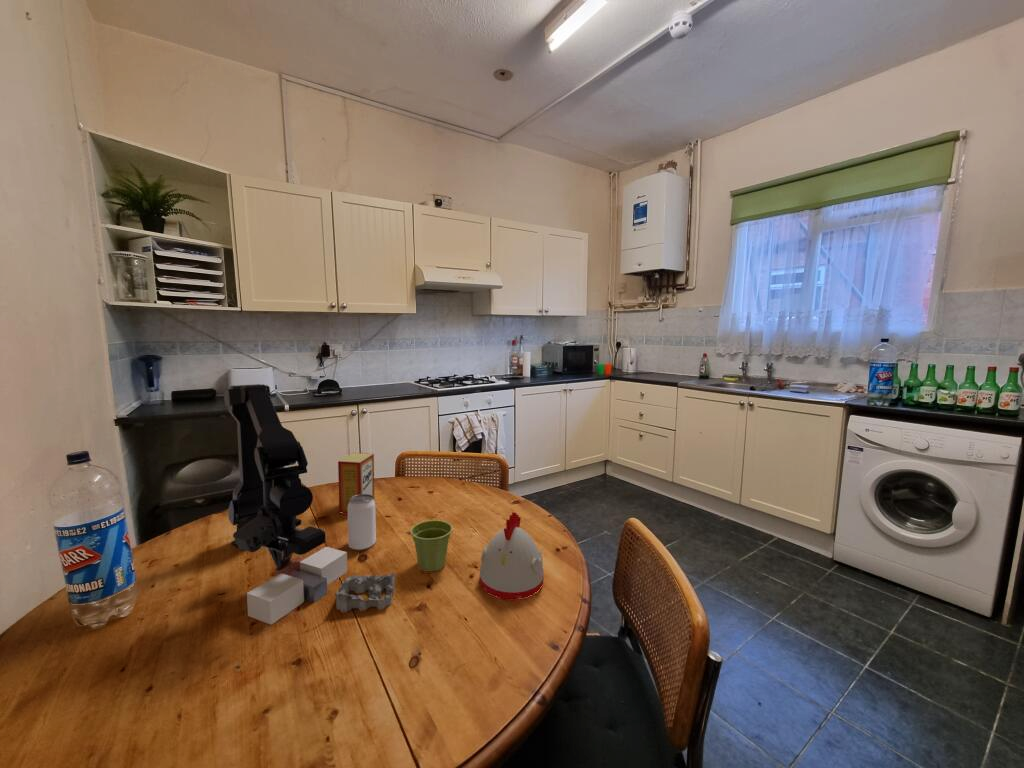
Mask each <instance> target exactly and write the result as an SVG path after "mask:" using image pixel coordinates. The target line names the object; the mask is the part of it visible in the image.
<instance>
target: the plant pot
mask: <svg viewBox="0 0 1024 768" xmlns="http://www.w3.org/2000/svg"><path fill="white" fill-rule="evenodd" d="M452 532H453V525H452V524H451V523H449V522H447V521H444V520H438V519H431V520H430V519H429V520H424V521H421V522H418V523H415V525H413V526H412V527H411V528H410V535H411V537H412V541H414V546H415V553H416V560H417V565H418V566H417V567H418V568H419V569H420V570H421V571H423V572H428V571H431V572H436V571H439V570H441V569H443V568H444V567H445V564H446V560H447V553H448V545H449V539H450V537H451V533H452Z"/></svg>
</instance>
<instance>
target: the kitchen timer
mask: <svg viewBox="0 0 1024 768" xmlns="http://www.w3.org/2000/svg"><path fill="white" fill-rule="evenodd" d="M505 522H506V527H505V528H504V527H503V529H500V531H499V532H498V531H497V533H496V534H495V535H494V536H493V537H492V538H491V540H490V541H489V543H488V545H487V546H486V547H485V546H484V547H483V549H482V553H481V558H480V561H481V563H480V567H479V584H481V585H480V586H482V587H481V589H482V588H483V589H484V590H483V589H482V590H483V591H484V592H485V593H487V592H488V593H490V594H492V595H494V596H497V597H500V598H504V599H519V598H525V597H528V596H530V595H533V594H534V593H535V592H537V591H538V590H539V589H540V587H541V586H542V584H543V585H544V582H543V580H544V577H545V576H544V575H545V573H544V568H543V566H544V565H543V564H544V563H543V554H542V549H539V550H538V546H537V545H536V543H535V541H534V540H533V538H532V537H531V536H530V534H529V533H527V531H525V530H524V529H523V528H521V526H520V525H521V517H520V515H519V514H517V512H514V511H513V512H511V514H509V519H506V521H505ZM542 587H543V586H542ZM540 590H541V589H540ZM488 593H487V594H488ZM490 594H489V595H490ZM492 595H491V596H492ZM494 596H493V597H494ZM533 596H534V595H533ZM500 598H499V599H500ZM528 598H529V597H528ZM504 599H503V600H504ZM525 599H526V598H525ZM519 600H520V599H519Z"/></svg>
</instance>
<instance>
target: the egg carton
mask: <svg viewBox="0 0 1024 768" xmlns="http://www.w3.org/2000/svg"><path fill="white" fill-rule="evenodd" d="M395 574H396V573H395V572H392V573H390V574H385V575H382V574H380V575H378V574H373V575H364V576H363V575H357V574H353V575H350V576H348V577H346V578H344V579H343V581H342V582H341V584H340V586H339V589H338V591H336V592H335V593H334V597H336V598H335V599H336V606H335V607H336V610H339V611H340V612H341V613H348V611H350V610H351V609H359V611H360V612H363V611H366V610H368V609H369V608H371V607H376V608H377V610H385V609H386V607H388V606H391V605H392V599H393V598H392V595H394V593H395V580H396V577H395V576H396V575H395ZM384 589H385V594H386V595H384V596H383V599H382V592H383V590H384ZM367 590H368V598H366V599H364V598H363V596H361V595H360V594H364V593H365V592H366V591H367ZM352 591H353V592H354V593H355V594H358V595H354V594H349V593H350V592H352Z"/></svg>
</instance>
